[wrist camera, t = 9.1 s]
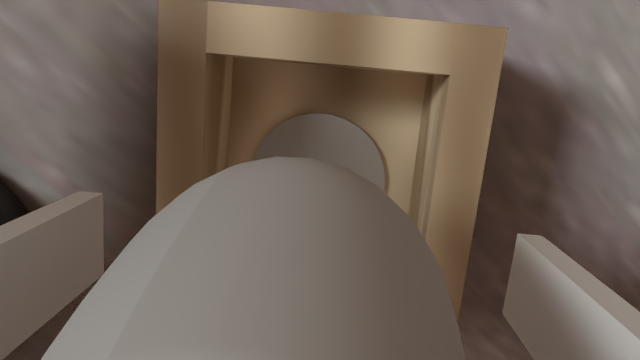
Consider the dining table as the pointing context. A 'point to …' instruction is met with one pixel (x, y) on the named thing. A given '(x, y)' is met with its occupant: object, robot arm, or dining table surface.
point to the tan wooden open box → (334, 102)
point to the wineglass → (274, 266)
